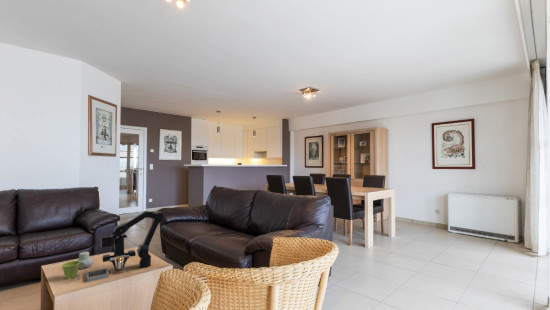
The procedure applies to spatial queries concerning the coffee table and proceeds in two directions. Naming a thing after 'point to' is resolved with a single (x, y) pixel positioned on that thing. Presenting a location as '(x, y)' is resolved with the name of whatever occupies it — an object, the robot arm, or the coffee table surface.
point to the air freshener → (84, 260)
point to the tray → (98, 275)
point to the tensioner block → (114, 272)
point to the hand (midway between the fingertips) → (119, 268)
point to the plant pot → (70, 269)
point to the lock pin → (119, 263)
